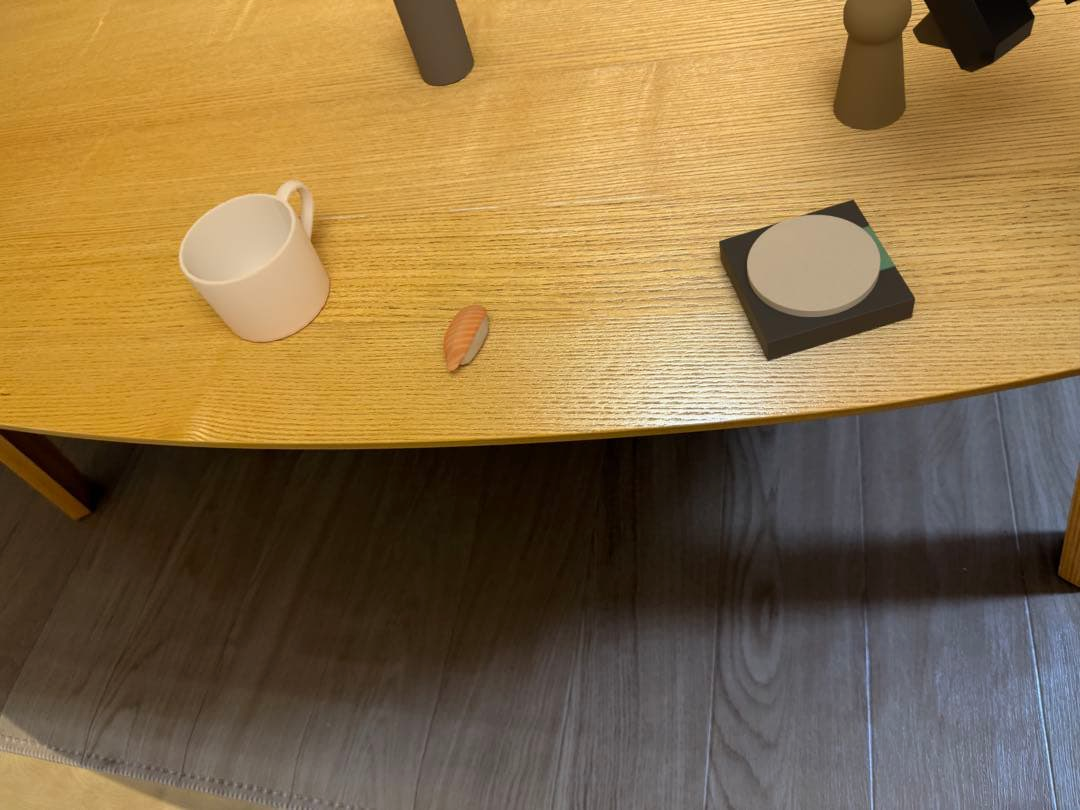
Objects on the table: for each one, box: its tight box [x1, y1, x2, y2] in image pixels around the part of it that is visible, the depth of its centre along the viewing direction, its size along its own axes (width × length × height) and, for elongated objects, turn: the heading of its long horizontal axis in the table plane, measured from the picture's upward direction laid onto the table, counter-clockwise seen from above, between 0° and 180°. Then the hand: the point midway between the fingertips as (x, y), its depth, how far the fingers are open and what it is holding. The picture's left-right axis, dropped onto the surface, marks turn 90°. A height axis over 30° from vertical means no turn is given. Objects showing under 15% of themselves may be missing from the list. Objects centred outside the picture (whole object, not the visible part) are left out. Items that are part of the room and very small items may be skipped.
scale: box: [718, 198, 916, 362], centre depth 72 cm, size 11×11×3 cm
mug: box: [178, 179, 331, 343], centre depth 82 cm, size 13×10×8 cm
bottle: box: [392, 0, 475, 86], centre depth 93 cm, size 6×6×15 cm
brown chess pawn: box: [833, 0, 913, 130], centre depth 78 cm, size 6×6×11 cm
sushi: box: [443, 304, 489, 372], centre depth 76 cm, size 3×6×3 cm, turn 160°
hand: (962, 2), depth 67 cm, fingers open, 9 cm apart
